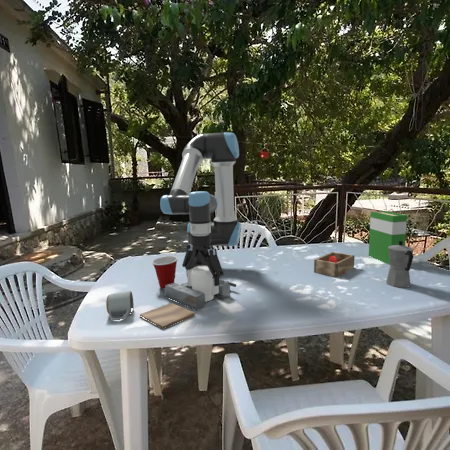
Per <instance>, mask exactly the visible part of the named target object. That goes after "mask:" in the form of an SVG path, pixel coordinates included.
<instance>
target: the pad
mask: <svg viewBox="0 0 450 450" xmlns="http://www.w3.org/2000/svg"><path fill="white" fill-rule="evenodd" d="M140 316H142V317H144V318H145V319H147V320H149V321H150V322H152V323H154V324H156V325H157V326H160V327H161V328H165V327H167V328H169V327H168V326H170V327H171V325H172V326H174V325H176V324H175V323H177V322H179V323H181V322H183V321H186V320H188V319H190V318H192V316H193V317H194V316H196V313H195V311H192V310H189V309H188V308H185V307H182V306H180V305H177V304H176V303H173V302H170V303H167V304H164V305H161V306H159V307H157V308H154V309H151V310H149V311H146V312H143V313H141V314H139V317H140ZM187 318H188V319H187ZM185 319H186V320H185ZM182 320H183V321H182ZM180 321H181V322H180ZM150 322H149V323H150ZM152 323H151V324H152ZM154 324H153V325H154ZM173 324H174V325H173ZM177 324H178V323H177ZM157 326H156V327H157ZM161 328H160V329H161ZM165 329H166V328H165Z"/></svg>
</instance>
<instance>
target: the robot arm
mask: <svg viewBox="0 0 450 450" xmlns="http://www.w3.org/2000/svg"><path fill="white" fill-rule="evenodd" d="M181 155H182V156H181V157H182V160H181V163H180V166H179V167H178V171H177V173H176V176H175V179H174V180H173V181H174V182H173V184H172V186H171V189H170V192H169V194H165V195H162V196H161V197H160V202H159V205H160V211H161V212H162V213H163V214H165V215H189V222H188V224H187V228H186V229H187V231H186V233H187V245H186V252H185V254H184V257H183V261H182V268H185V270H186V278H187V282H188V286H192V278H191V272H192V269H193V268H194V267H197V266H208V268H209V270H210V272H211V273H212V275H213V277H211V279H212V295H215V294H217V293H219V284H220V283H219V280H220V277H222V276H224V275H225V273H224V271H223V268H222V264H221V263H220V260H219V257H218V252H217V248H213V249H212V247H235V246H237V245H239V242H240V239H241V233H242V223H241V222H239V221H238V218H237V217H236V215H235V204H234V203H235V199H234V198H235V197H234V196H235V195H234V165H235V164H236V162H237V159H238V158H239V156H240V148H239V142H238V138H237V136H236V134H235V133H234V132H226V131H224V132H213V133H212V132H210V133H207V132H206V133H200V134H198V135H196V136H195V137H193V138H192V139H191V140H190V141H188V143H187V144H186V145H185V146H184V148H183V151H182V153H181ZM205 159H206V160H210V163H211V164H212V166H213V167H214V179H215V181H214V184H215V185H214V186H215V187H214V188H215V195H213V194H210V193H209V191H205V190H204V191H202V190H201V191H192V192H191V189H192V186H193V183H194V180H195V177H196V173H197V171H198V168H199V165H200V164H201V163H202V162H203V160H205ZM214 212H216V216H215V217H213V218H214V219H213V221H211V214H213V213H214Z"/></svg>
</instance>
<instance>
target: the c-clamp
mask: <svg viewBox="0 0 450 450" xmlns="http://www.w3.org/2000/svg"><path fill="white" fill-rule="evenodd" d="M219 283H220V284H219V293H217V294H215V295H214V298H218V299H221V300H225V299H228V298H230V297H231V287H234V288H236V287H237V284H236V283H232V282H230V281H228V280H224V279H223V280H222V279H219ZM165 297H167V298H166V299H168V298H170V299H172V300H175V301H177V302H179V303H178V304H180V303H181V304H180V305H182V304H183V305H182V306H184V305H186V306H185V307H187V306H188V308H189V307H190V308H189V309H192V308H193V309H192V310H194V309H195V310H194V311H199V310H202V309H203V308H206V302H205V294H204V293H201V292H199V291H196V290H193V289H192V286H188V281H187V282H184V283H181V284H179V283H176V282H174V283H171V284H168V285H165V289H164V298H165ZM170 299H169V300H170ZM172 300H171V301H172ZM175 301H174V302H175ZM177 302H176V303H177ZM201 308H202V309H201Z"/></svg>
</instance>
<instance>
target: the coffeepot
mask: <svg viewBox="0 0 450 450" xmlns="http://www.w3.org/2000/svg"><path fill="white" fill-rule="evenodd" d="M402 244H403V241H399V245H391V246H388V250H389V260H390V265H389V269H388V273H387V276H386V284H387V285H388V286H391V287H394V288H402V287H404V288H409V287H411V276H410V269H411V266H412V263H413V260H414V254H413V253H414V249H413V247H411V246H408V245H405V246H403V245H402ZM408 286H409V287H408Z"/></svg>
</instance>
